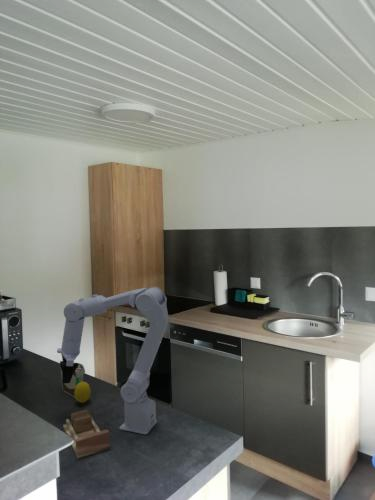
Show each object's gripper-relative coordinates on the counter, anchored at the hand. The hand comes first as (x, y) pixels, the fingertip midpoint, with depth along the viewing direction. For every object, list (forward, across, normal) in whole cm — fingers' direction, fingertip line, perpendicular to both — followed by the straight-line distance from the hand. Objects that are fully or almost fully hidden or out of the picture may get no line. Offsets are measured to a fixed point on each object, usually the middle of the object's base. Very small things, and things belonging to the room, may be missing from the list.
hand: (66, 376), depth 124 cm
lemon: (+14, -7, +8) cm, 17 cm away
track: (+11, +15, +7) cm, 20 cm away
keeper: (+11, +11, +6) cm, 17 cm away
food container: (+15, -17, +6) cm, 24 cm away
